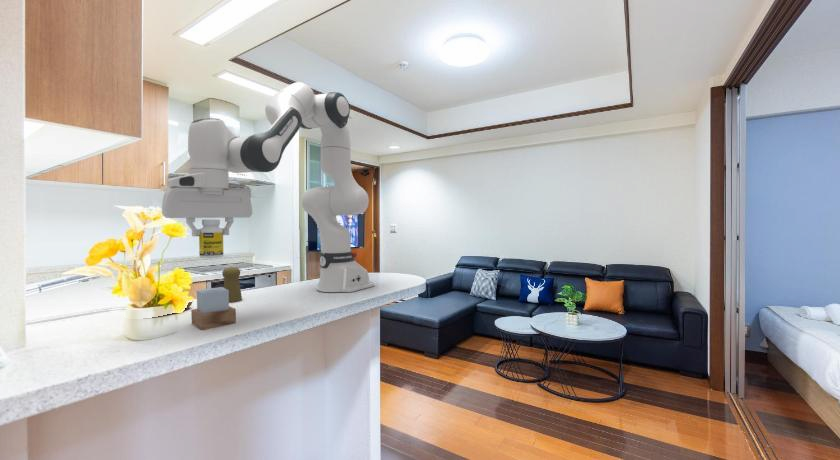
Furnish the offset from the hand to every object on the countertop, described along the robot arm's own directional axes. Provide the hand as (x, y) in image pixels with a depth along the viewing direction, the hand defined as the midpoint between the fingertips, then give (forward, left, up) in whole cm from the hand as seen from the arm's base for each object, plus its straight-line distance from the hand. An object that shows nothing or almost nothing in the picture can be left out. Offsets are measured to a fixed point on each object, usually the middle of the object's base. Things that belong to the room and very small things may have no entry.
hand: (211, 235), depth 93 cm
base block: (0, 0, -23) cm, 23 cm away
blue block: (0, 0, -19) cm, 19 cm away
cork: (-13, -23, -23) cm, 35 cm away
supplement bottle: (0, 0, -6) cm, 6 cm away
